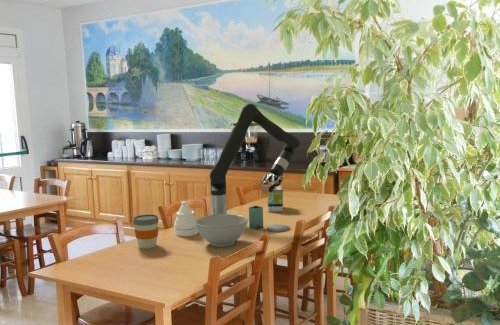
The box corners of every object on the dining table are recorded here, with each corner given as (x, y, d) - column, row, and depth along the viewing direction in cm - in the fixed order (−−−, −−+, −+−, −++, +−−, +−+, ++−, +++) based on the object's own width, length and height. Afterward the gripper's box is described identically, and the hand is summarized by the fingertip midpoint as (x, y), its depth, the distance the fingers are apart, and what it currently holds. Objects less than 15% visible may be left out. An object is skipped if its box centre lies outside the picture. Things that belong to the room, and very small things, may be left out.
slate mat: (272, 233, 269) (272, 231, 269) (263, 227, 281) (263, 226, 281) (293, 230, 274) (293, 228, 274) (283, 225, 286) (283, 223, 286)
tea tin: (256, 229, 278) (255, 208, 276) (249, 227, 282) (248, 207, 280) (263, 227, 281) (262, 207, 280) (256, 226, 285) (256, 205, 284)
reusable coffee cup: (135, 250, 245) (133, 221, 243) (134, 243, 257) (132, 215, 255) (161, 248, 248) (159, 218, 246) (158, 241, 260) (157, 213, 258)
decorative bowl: (237, 233, 271) (236, 212, 269) (256, 246, 246) (255, 222, 245) (189, 240, 261) (188, 217, 259) (205, 254, 236) (204, 229, 234)
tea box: (283, 211, 319) (283, 189, 318) (267, 212, 320) (267, 189, 318) (282, 206, 334) (282, 185, 332) (267, 207, 335) (267, 185, 333)
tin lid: (267, 193, 273) (267, 186, 272) (259, 192, 277) (259, 185, 277) (275, 191, 277) (275, 184, 276) (267, 190, 281) (267, 183, 281)
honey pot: (193, 236, 267) (192, 204, 265) (171, 235, 270) (169, 203, 268) (200, 230, 280) (199, 199, 278) (179, 229, 282) (177, 198, 280)
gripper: (267, 162, 285) (253, 185, 279) (285, 163, 274) (270, 188, 268) (274, 170, 289) (260, 193, 283) (292, 172, 279) (278, 196, 272)
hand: (265, 190), depth 276 cm, fingers closed on tin lid, 6 cm apart
